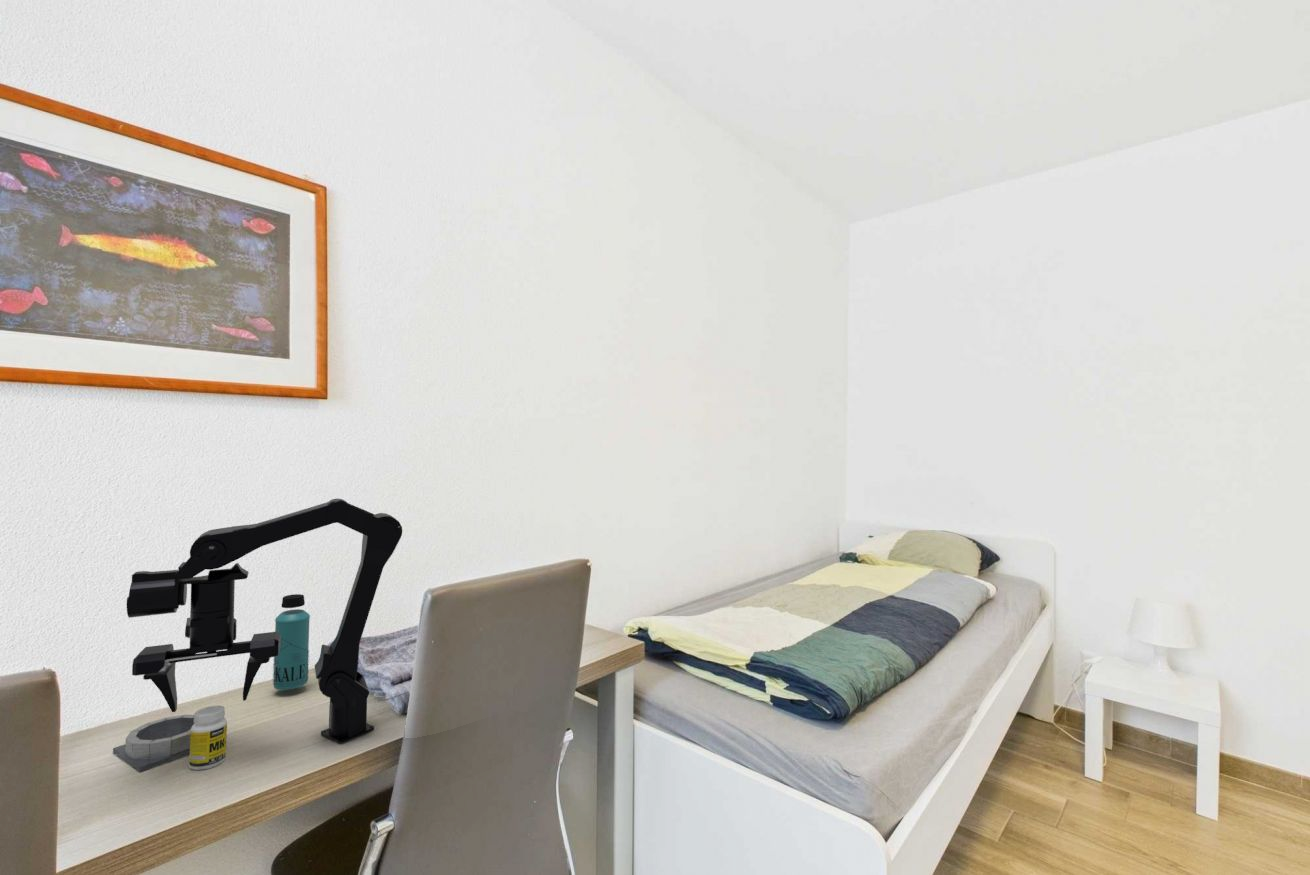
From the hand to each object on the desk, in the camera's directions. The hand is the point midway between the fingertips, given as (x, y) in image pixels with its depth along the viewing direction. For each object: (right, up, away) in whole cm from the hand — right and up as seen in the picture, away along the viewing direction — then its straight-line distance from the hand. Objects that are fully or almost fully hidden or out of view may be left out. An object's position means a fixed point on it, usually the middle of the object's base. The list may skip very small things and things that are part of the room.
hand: (210, 705), depth 96 cm
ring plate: (-10, -9, +4) cm, 14 cm away
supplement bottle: (0, -9, 0) cm, 9 cm away
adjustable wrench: (+22, -11, +35) cm, 43 cm away
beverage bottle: (-4, -10, +28) cm, 30 cm away
